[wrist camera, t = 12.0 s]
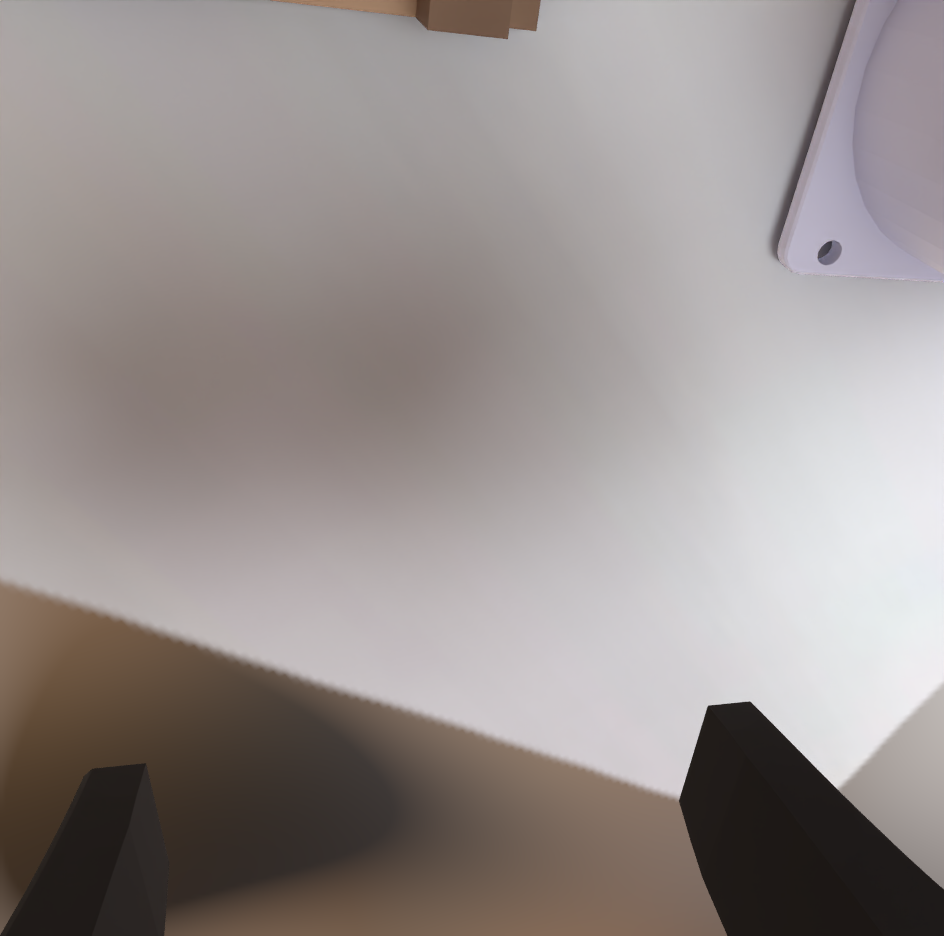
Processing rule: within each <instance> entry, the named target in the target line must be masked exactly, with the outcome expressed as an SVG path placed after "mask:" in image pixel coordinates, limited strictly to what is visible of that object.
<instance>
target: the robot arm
mask: <svg viewBox="0 0 944 936" xmlns="http://www.w3.org/2000/svg"><path fill="white" fill-rule="evenodd" d="M828 241H832V247H831V249H830V250H829V252H828V253H827V254H826V255H825V256H823V257H822V258H818V252H819V250H820V248H821V247H822V246H823V245H824V244H825V243H827V242H828ZM777 255H778V258H779V261H780V262H781V263H782V264H783V265H784V266H785V267H786V268H787V269H789V270H790V271H791V272H794V273H798V274H809V275H826V276H843V277H860V278H877V279H894V280H911V281H928V282H944V0H856V3H855V6H854V9H853V12H852V15H851V18H850V21H849V24H848V28H847V31H846V34H845V37H844V40H843V43H842V46H841V50H840V53H839V56H838V59H837V62H836V65H835V68H834V71H833V75H832V78H831V81H830V84H829V87H828V90H827V93H826V97H825V100H824V103H823V106H822V109H821V112H820V115H819V119H818V122H817V125H816V128H815V131H814V134H813V137H812V140H811V144H810V147H809V150H808V153H807V156H806V159H805V162H804V166H803V169H802V172H801V175H800V178H799V181H798V184H797V188H796V191H795V194H794V197H793V200H792V203H791V206H790V209H789V213H788V216H787V219H786V222H785V225H784V228H783V231H782V235H781V238H780V241H779V244H778V251H777ZM679 802H680V806H681V809H682V812H683V816H684V819H685V823H686V826H687V830H688V833H689V836H690V840H691V843H692V846H693V849H694V852H695V856H696V859H697V862H698V865H699V868H700V871H701V874H702V877H703V880H704V882H705V884H706V887H707V889H708V892H709V894H710V896H711V899H712V901H713V903H714V906H715V908H716V910H717V913H718V915H719V917H720V920H721V922H722V924H723V926H724V928H725V931H726V933H727V936H944V889H943V888H941V887H940V886H939V885H938V884H937V883H936V882H935V881H933V880H932V879H931V878H930V877H929V876H928V875H927V874H925V873H924V872H923V871H922V870H921V869H920V868H919V867H918V866H917V865H916V864H914V862H912V861H911V860H910V859H909V858H908V857H907V856H906V855H905V854H904V853H903V852H902V851H901V850H900V849H898V848H897V847H896V846H895V845H894V844H893V843H892V842H891V841H890V840H889V839H888V838H887V837H886V836H885V835H884V834H883V833H882V832H881V831H880V830H879V829H878V828H876V827H875V826H874V825H873V824H872V823H871V822H870V821H869V820H868V819H867V818H866V817H865V816H864V815H863V814H862V813H861V812H860V811H859V810H858V809H857V808H855V807H854V805H853V804H852V803H851V802H850V801H849V800H847V799H846V798H845V797H844V796H843V795H842V794H841V793H840V792H839V791H838V790H837V789H836V788H835V787H834V786H833V785H832V784H831V783H830V782H829V781H828V780H827V779H826V778H825V777H824V776H823V775H822V774H821V773H820V772H819V771H818V770H817V769H816V768H815V767H814V766H813V765H812V764H811V762H810V761H809V760H808V759H807V758H806V757H805V756H804V755H803V754H802V753H801V752H800V751H799V750H798V749H797V748H796V747H795V746H794V745H793V744H792V743H791V742H790V741H789V740H788V739H787V738H786V737H785V736H784V735H783V734H782V733H781V732H780V731H779V730H778V729H777V728H776V727H775V726H774V725H773V724H772V723H771V722H770V721H769V720H768V719H767V718H766V717H765V716H764V715H763V714H762V713H761V712H760V711H759V710H758V709H757V708H756V707H755V706H754V705H753V704H752V703H751V702H740V703H730V704H721V705H711V706H708V707H707V711H706V714H705V717H704V721H703V724H702V727H701V730H700V734H699V737H698V740H697V744H696V747H695V750H694V753H693V757H692V760H691V763H690V767H689V770H688V773H687V776H686V780H685V783H684V786H683V790H682V793H681V796H680V800H679ZM168 872H169V860H168V856H167V852H166V848H165V843H164V839H163V835H162V830H161V826H160V822H159V818H158V813H157V809H156V805H155V801H154V796H153V792H152V787H151V783H150V779H149V775H148V770H147V766H146V764H136V765H126V766H116V767H106V768H96V769H92V770H90V771H89V772H88V773H87V774H86V775H85V776H84V777H83V779H82V782H81V784H80V786H79V788H78V790H77V792H76V795H75V797H74V799H73V802H72V803H71V805H70V808H69V809H68V811H67V813H66V816H65V817H64V820H63V822H62V823H61V825H60V828H59V829H58V831H57V833H56V835H55V837H54V839H53V841H52V843H51V845H50V847H49V849H48V851H47V853H46V855H45V857H44V858H43V860H42V862H41V864H40V866H39V868H38V870H37V871H36V873H35V875H34V877H33V879H32V880H31V882H30V884H29V886H28V888H27V890H26V892H25V893H24V895H23V897H22V899H21V900H20V902H19V904H18V906H17V907H16V909H15V911H14V912H13V914H12V916H11V917H10V919H9V921H8V923H7V924H6V926H5V928H4V930H3V932H2V933H1V935H0V936H164V930H165V918H166V917H165V916H166V903H167V888H168Z"/></svg>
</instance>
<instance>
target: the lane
mask: <svg viewBox="0 0 944 936" xmlns="http://www.w3.org/2000/svg"><path fill="white" fill-rule="evenodd" d="M272 1H281V2H289V3H298V4H307V5H315V6H324V7H333V8H341V9H350V10H358V11H367V12H376V13H384V14H393V15H402V16H410V17H416V18H417V19H418V20H419V21H420V22H421V23H422V24H423V25H424V26H425V28H426V29H427V30H432V31H441V32H450V33H459V34H467V35H476V36H485V37H494V38H503V39H508V33H509V28H514V29H522V30H531V31H536V28H537V21H538V14H539V7H540V0H272Z"/></svg>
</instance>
